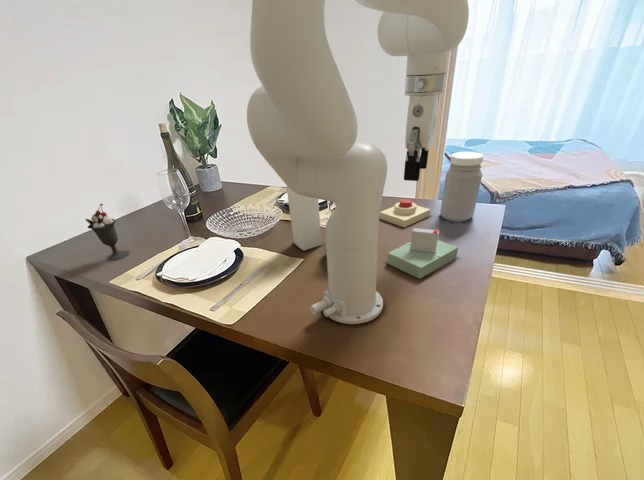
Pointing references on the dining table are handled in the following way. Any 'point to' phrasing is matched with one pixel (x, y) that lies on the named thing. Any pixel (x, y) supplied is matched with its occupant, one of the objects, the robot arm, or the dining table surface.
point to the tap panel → (421, 259)
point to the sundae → (105, 232)
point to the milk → (304, 220)
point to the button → (405, 203)
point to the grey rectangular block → (424, 240)
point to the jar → (461, 186)
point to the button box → (404, 214)
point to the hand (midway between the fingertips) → (415, 174)
